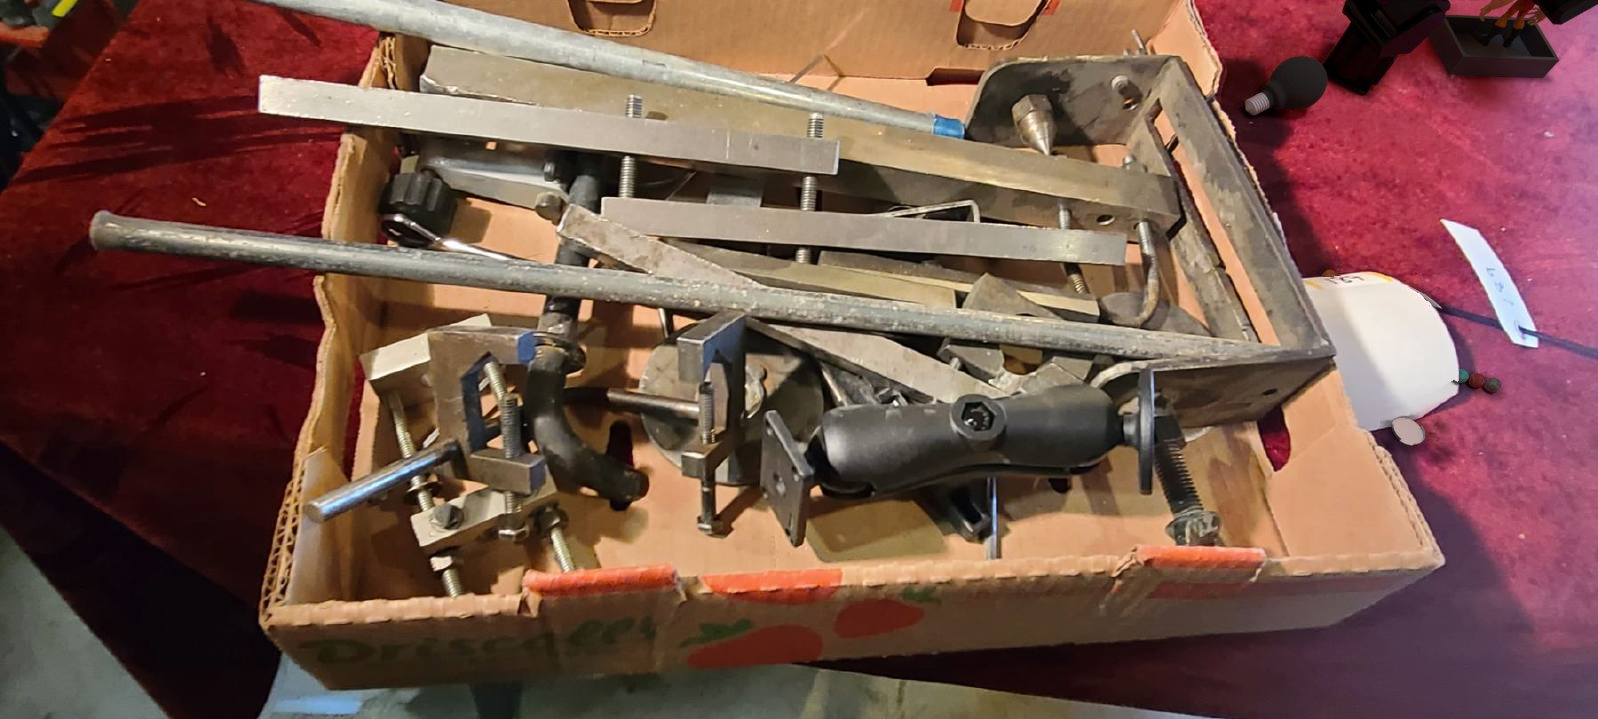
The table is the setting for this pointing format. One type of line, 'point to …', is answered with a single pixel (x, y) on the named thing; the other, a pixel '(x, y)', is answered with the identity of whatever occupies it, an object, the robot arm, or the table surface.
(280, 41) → the table surface
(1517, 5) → the action figure
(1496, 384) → the beads
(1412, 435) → the grey flat disc
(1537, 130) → the table surface
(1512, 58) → the tray
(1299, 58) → the light bulb
